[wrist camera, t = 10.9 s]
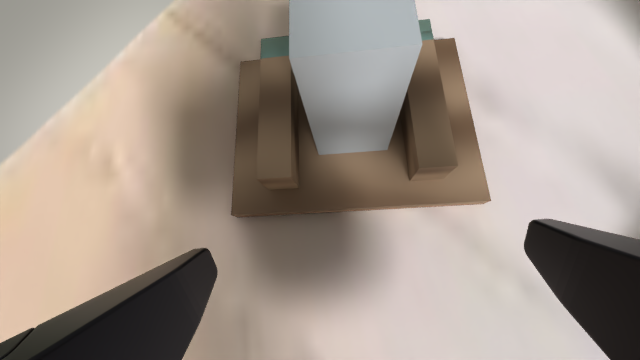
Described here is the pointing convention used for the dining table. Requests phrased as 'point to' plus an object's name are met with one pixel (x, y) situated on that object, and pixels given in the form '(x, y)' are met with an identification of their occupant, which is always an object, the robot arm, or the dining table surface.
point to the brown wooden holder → (359, 167)
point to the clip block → (353, 68)
